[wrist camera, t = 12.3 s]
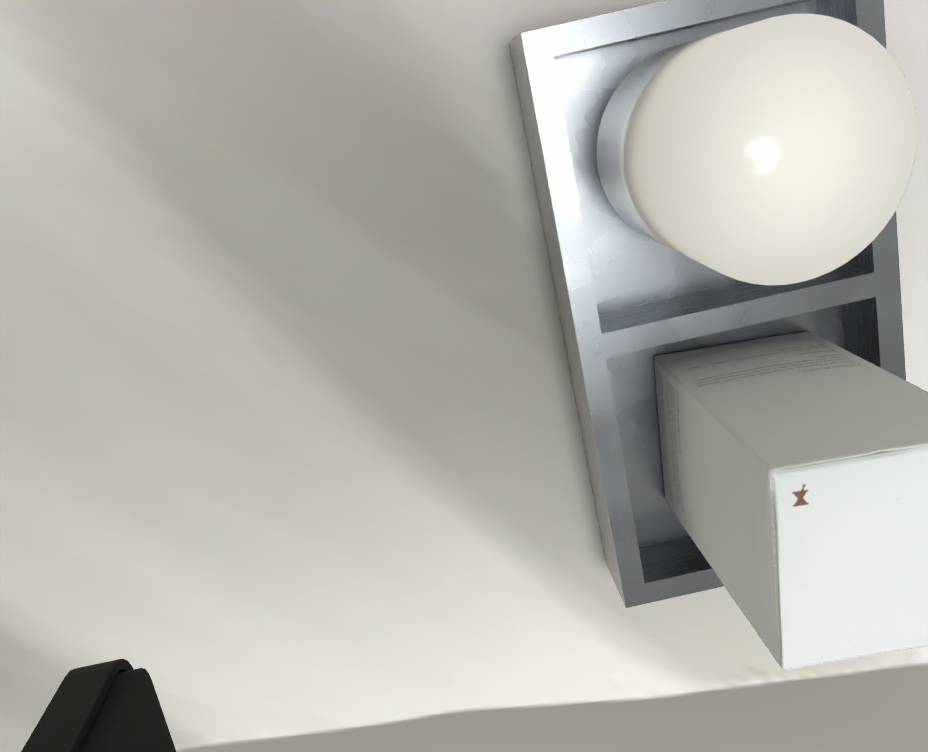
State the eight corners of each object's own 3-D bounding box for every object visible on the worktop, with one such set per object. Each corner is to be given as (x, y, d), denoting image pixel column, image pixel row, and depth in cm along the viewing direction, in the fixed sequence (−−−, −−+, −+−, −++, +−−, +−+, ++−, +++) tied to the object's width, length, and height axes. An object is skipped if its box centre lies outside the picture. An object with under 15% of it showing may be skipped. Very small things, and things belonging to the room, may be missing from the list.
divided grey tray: (605, 562, 40) (625, 607, 37) (508, 43, 33) (521, 32, 30) (868, 503, 40) (915, 543, 37) (826, -30, 33) (880, -50, 29)
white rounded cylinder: (613, 264, 35) (677, 309, 27) (581, 67, 33) (640, 47, 24) (798, 222, 35) (923, 254, 27) (779, 21, 33) (910, -15, 24)
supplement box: (661, 504, 39) (774, 678, 27) (650, 351, 36) (768, 465, 24) (818, 480, 39) (1001, 643, 27) (816, 327, 36) (1015, 428, 24)
